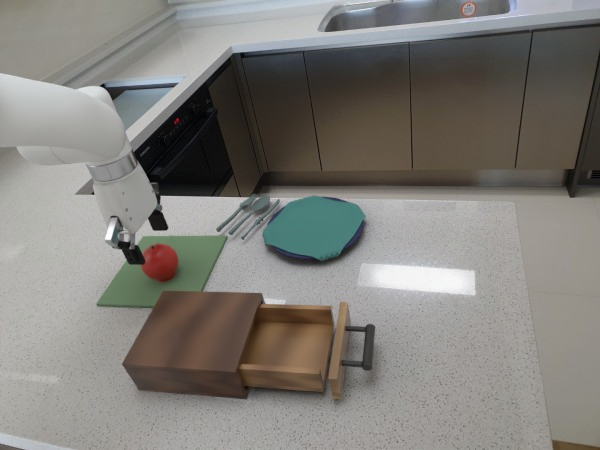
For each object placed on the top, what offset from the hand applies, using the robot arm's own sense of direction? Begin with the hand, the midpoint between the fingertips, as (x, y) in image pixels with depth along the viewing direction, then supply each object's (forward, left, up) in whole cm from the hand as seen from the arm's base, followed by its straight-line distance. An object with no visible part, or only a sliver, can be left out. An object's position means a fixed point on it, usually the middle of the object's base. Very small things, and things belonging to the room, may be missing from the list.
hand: (149, 245), depth 85 cm
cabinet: (-16, -15, -9) cm, 24 cm away
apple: (+1, 0, -5) cm, 4 cm away
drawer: (-16, -31, -8) cm, 36 cm away
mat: (+3, +1, -9) cm, 9 cm away
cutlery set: (+16, -23, -9) cm, 29 cm away
